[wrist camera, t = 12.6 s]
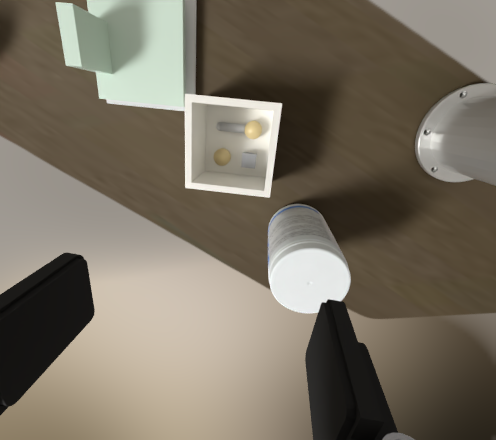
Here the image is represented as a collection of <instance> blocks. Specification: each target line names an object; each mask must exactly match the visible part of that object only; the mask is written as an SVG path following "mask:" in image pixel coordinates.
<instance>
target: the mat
mask: <svg viewBox="0 0 496 440" xmlns="http://www.w3.org/2000/svg"><path fill="white" fill-rule="evenodd" d="M196 9H197V0H185V50H186V94H193V95H196ZM107 103H110V104H120V105H129V106H139V107H149V108H159V109H169V110H178V111H185V107H179V106H169V105H159V104H149V103H139V102H129V101H119V100H109V99H107Z"/></svg>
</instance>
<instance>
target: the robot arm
mask: <svg viewBox="0 0 496 440" xmlns="http://www.w3.org/2000/svg"><path fill="white" fill-rule="evenodd" d="M424 131H425V133H424ZM415 152H416V157H417V160H418V162H419V164H420V166H421V167H422V168H423V170H424V171H425V172H426V173H428V174H429V175H430V176H432V177H435V178H437V179H439V180H443V181H446V182H464V181H469V180H473V179H477V180H480V181H483V182H486V183H489V184H492V185H495V186H496V84H493V83H479V84H473V85H468V86H465V87H462V88H459V89H457V90H455V91H453V92H451V93H449V94H448V95H446V96H445V97H443V98H442V99H440V100H439V101H438V102H437V103H436V104H435V105H434V106H433V107H432V108H431V109H430V110H429V112H428V113H427V114H426V116H425V117H424V119H423V121H422V122H421V124H420V127H419V129H418V132H417V135H416V140H415ZM93 316H94V304H93V298H92V292H91V285H90V279H89V272H88V266H87V262H86V260H84V258H83V257H82V256H81V255H77V254H71V253H64V254H62V255H60V256H59V257H57V258H56V259H54V260H53V261H51V262H50V263H48V264H46V265H45V266H43V267H42V268H40V269H39V270H37V271H36V272H34V273H33V274H31V275H30V276H28V277H27V278H25V279H23V280H22V281H20V282H19V283H17V284H16V285H14V286H13V287H11V288H10V289H8V290H7V291H5V292H4V293H2V294H1V295H0V415H1V414H2V413H3V412H4V411H5V410H6V409H7V408H8V407H9V406H12V405H13V404H15V403H16V402H17V401H18V400H19V399H20V398H21V397H22V396H23V395H24V393H25V392H26V391H27V390H28V389H29V388H30V387H31V386H32V385H33V383H35V381H36V380H37V379H38V378H39V377H40V376H41V375H42V374H43V373H44V372H45V370H46V369H47V368H48V367H49V366H50V365H51V363H53V362H54V360H55V359H56V358H57V357H58V356H59V355H60V354H61V353H62V352H63V351H64V349H65V348H66V347H67V346H68V345H69V344H70V343H71V342H72V341H73V340H74V338H75V337H76V336H77V335H78V334H79V333H80V332H81V331H82V330H83V329H84V327H85V326H86V325H87V324H88V323H89V322H90V321H91V319H92V318H93ZM306 371H307V381H308V391H309V401H310V410H311V421H312V430H313V440H414V439H413V438H411V437H409V436H406V435H404V434H402V433H398V431H397V428H396V426H395V423H394V420H393V417H392V415H391V412H390V409H389V407H388V404H387V401H386V398H385V396H384V393H383V390H382V388H381V385H380V382H379V379H378V377H377V374H376V371H375V368H374V366H373V363H372V360H371V358H370V355H369V352H368V349H367V347H366V346H365V344H363V343H359V342H358V341H357V338H356V335H355V332H354V329H353V326H352V323H351V320H350V318H349V314H348V312H347V308H346V305H345V303H344V302H341V301H336V300H330V299H328V300H327V302H326V303H325V302H322V303H321V306H320V309H319V312H318V315H317V319H316V322H315V325H314V328H313V332H312V335H311V338H310V341H309V344H308V347H307V351H306Z"/></svg>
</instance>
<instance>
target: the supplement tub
mask: <svg viewBox="0 0 496 440" xmlns="http://www.w3.org/2000/svg"><path fill="white" fill-rule="evenodd" d="M268 276H269V283H270V288H271V291H272V293H273V295H274V297H275V298H276V300H277V301H278V302H279V303H280V304H282V305H283V306H284V307H286V308H288V309H290V310H293V311H296V312H300V313H318V312H319V309H320V306H321V303H322V302H325V303H326V302H327V300H328V299H330V300H336V301H341V300H342V299H343V298H344V297H345V296H346V294H347V292H348V290H349V288H350V283H351V275H350V271H349V268H348V264H347V262H346V260H345V257H344V256H343V254H342V252H341V250H340V248H339V246H338V244H337V242H336V240H335V238H334V236H333V234H332V232H331V231H330V229H329V227H328V225H327V223H326V221H325V219H324V218H323V216H322V215H321V213H320V212H319V211H317V210H316V209H315V208H313V207H310V206H308V205H304V204H292V205H288V206H285V207H283V208H282V209H280V210H279V211H277V212H276V213H275V214H274V216H273V217H272V219H271V221H270V223H269V227H268Z"/></svg>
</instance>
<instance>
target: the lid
mask: <svg viewBox="0 0 496 440" xmlns="http://www.w3.org/2000/svg"><path fill="white" fill-rule="evenodd" d="M87 6H88V12H87V11H85V10H83V9H81V8H80V7H78V6H76V5H74V4H72V3H60V2H56V8H57V14H58V20H59V26H60V32H61V38H62V44H63V50H64V56H65V62H66V66H71V67H75V68H79V69H84V70H88V71H92V72H96V76H97V84H98V92H99V99H109V100H119V101H129V102H139V103H149V104H159V105H169V106H179V107H185V94H186V50H185V0H87Z"/></svg>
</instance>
